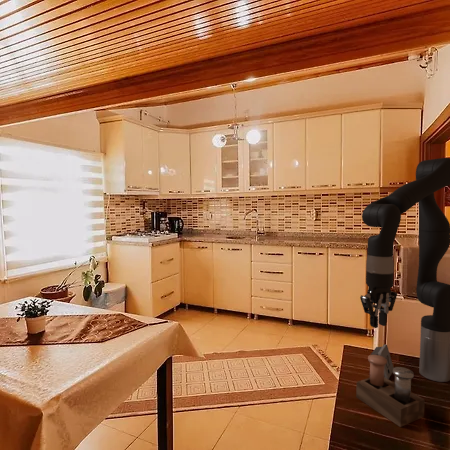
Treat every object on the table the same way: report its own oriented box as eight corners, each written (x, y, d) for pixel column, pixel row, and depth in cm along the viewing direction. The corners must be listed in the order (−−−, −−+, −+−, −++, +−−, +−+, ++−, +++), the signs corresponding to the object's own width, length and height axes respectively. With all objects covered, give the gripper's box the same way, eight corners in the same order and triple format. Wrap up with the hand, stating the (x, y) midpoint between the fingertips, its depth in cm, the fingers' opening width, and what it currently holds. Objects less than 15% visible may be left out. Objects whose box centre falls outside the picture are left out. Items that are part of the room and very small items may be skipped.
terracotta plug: (375, 376, 103) (376, 353, 103) (390, 384, 99) (390, 360, 98) (363, 380, 101) (364, 356, 101) (378, 389, 96) (378, 364, 96)
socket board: (378, 389, 105) (379, 374, 105) (424, 416, 92) (424, 399, 91) (356, 397, 101) (356, 381, 101) (400, 427, 87) (400, 409, 87)
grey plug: (399, 390, 96) (400, 365, 95) (416, 399, 91) (417, 373, 90) (387, 394, 93) (388, 369, 93) (404, 404, 89) (405, 378, 88)
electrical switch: (388, 381, 110) (386, 354, 110) (372, 377, 113) (369, 351, 113) (394, 370, 117) (392, 344, 117) (378, 367, 121) (376, 342, 121)
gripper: (384, 266, 104) (383, 318, 105) (352, 270, 98) (351, 325, 99) (406, 270, 97) (405, 326, 98) (373, 274, 91) (372, 334, 92)
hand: (378, 325), depth 99 cm, fingers open, 3 cm apart
